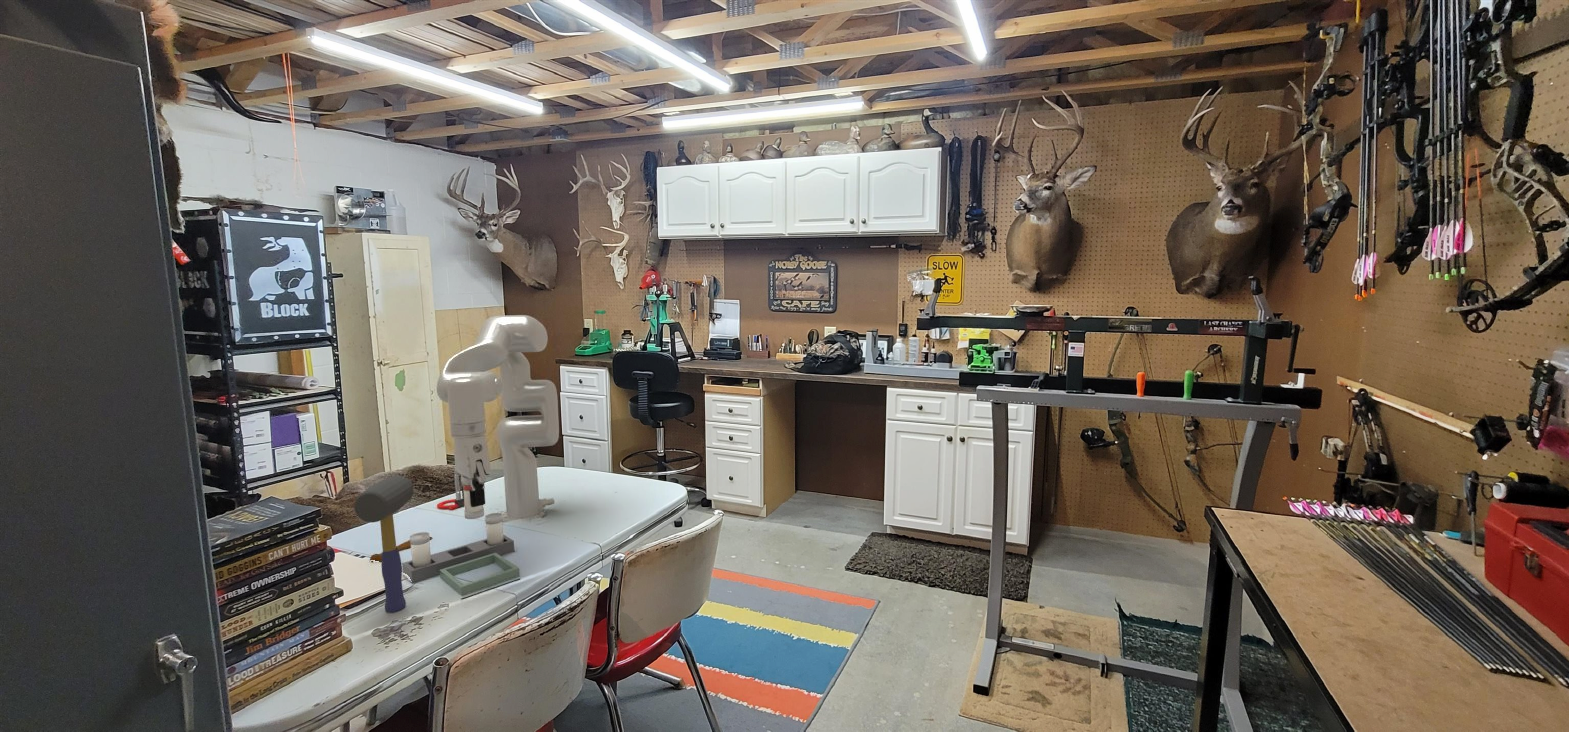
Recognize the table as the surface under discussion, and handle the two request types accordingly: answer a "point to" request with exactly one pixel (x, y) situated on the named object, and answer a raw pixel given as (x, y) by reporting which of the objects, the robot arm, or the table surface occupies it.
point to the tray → (485, 582)
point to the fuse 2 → (494, 528)
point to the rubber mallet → (387, 530)
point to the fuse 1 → (420, 549)
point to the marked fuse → (469, 511)
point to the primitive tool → (400, 547)
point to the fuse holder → (456, 558)
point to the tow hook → (457, 501)
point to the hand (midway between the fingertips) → (474, 502)
